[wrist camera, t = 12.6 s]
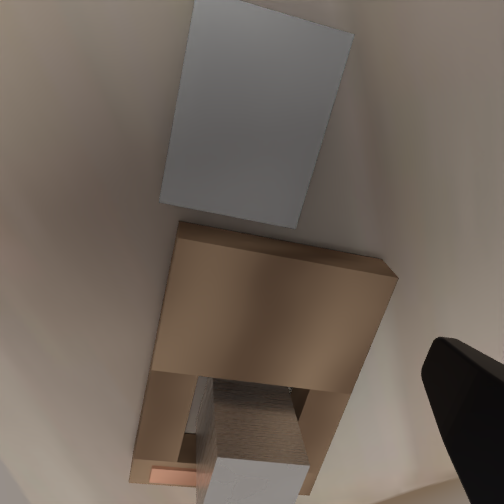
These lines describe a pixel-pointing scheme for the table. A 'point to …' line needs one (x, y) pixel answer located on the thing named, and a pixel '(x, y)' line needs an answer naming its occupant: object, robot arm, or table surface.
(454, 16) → the table surface
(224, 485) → the block
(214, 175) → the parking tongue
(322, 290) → the board
